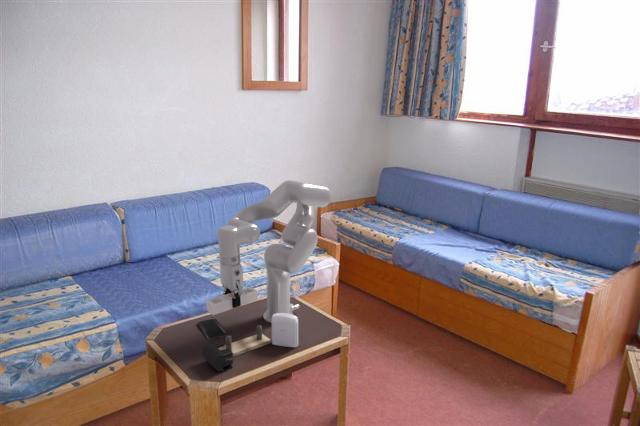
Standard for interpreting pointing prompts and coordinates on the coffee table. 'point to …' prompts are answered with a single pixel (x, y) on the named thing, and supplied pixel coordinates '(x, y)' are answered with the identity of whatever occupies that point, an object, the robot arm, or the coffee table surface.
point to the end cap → (217, 356)
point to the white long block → (230, 301)
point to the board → (246, 343)
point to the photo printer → (285, 330)
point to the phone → (212, 329)
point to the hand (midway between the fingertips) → (232, 303)
